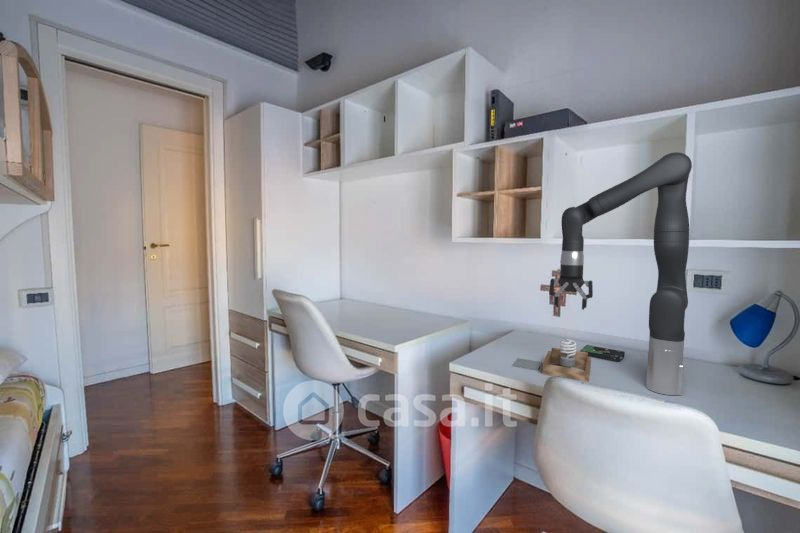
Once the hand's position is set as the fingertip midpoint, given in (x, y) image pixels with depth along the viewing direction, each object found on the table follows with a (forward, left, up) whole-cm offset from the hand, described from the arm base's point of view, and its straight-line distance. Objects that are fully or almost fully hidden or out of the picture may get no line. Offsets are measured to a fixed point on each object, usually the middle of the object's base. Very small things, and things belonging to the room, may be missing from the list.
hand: (569, 308), depth 139 cm
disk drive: (-11, -27, -24) cm, 38 cm away
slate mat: (+14, 0, -24) cm, 27 cm away
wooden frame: (0, 0, -24) cm, 24 cm away
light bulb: (0, 0, -24) cm, 24 cm away
